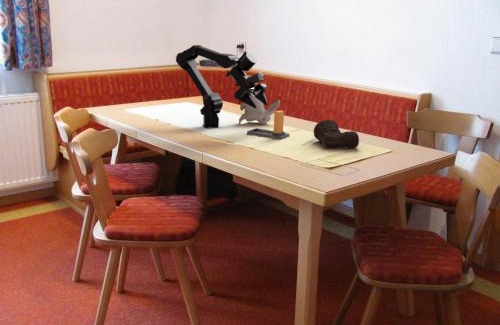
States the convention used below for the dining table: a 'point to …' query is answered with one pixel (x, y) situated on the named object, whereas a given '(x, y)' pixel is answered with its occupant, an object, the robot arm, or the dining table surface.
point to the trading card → (332, 172)
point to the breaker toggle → (278, 123)
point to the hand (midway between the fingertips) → (261, 106)
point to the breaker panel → (254, 132)
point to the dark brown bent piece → (335, 135)
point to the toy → (258, 111)
